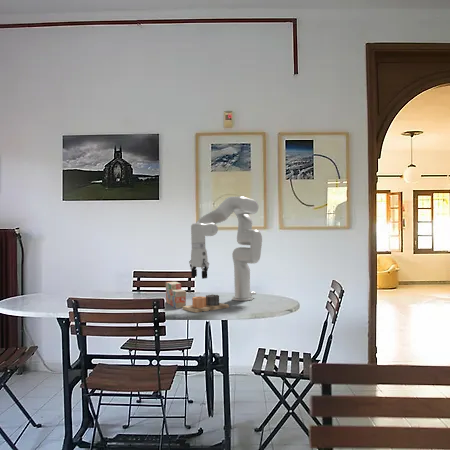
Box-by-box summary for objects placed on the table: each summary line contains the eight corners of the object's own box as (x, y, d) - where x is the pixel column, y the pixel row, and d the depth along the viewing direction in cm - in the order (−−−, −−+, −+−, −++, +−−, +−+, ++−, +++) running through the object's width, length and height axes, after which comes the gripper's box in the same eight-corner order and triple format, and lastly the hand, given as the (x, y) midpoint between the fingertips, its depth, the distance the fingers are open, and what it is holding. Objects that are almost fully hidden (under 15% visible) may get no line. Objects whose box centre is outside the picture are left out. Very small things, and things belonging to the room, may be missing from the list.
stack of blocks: (186, 307, 268) (185, 285, 268) (175, 308, 265) (174, 286, 265) (176, 301, 288) (175, 281, 287) (165, 302, 285) (165, 281, 285)
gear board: (214, 304, 275) (214, 292, 275) (229, 307, 265) (228, 294, 265) (182, 309, 262) (182, 296, 262) (196, 312, 252) (196, 299, 251)
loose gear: (200, 304, 266) (200, 295, 266) (208, 306, 260) (208, 297, 260) (189, 306, 261) (189, 297, 261) (197, 308, 256) (197, 298, 255)
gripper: (213, 246, 256) (214, 278, 256) (195, 245, 269) (195, 275, 270) (202, 247, 251) (203, 279, 252) (183, 245, 265) (184, 276, 265)
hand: (199, 277), depth 261 cm, fingers open, 9 cm apart
